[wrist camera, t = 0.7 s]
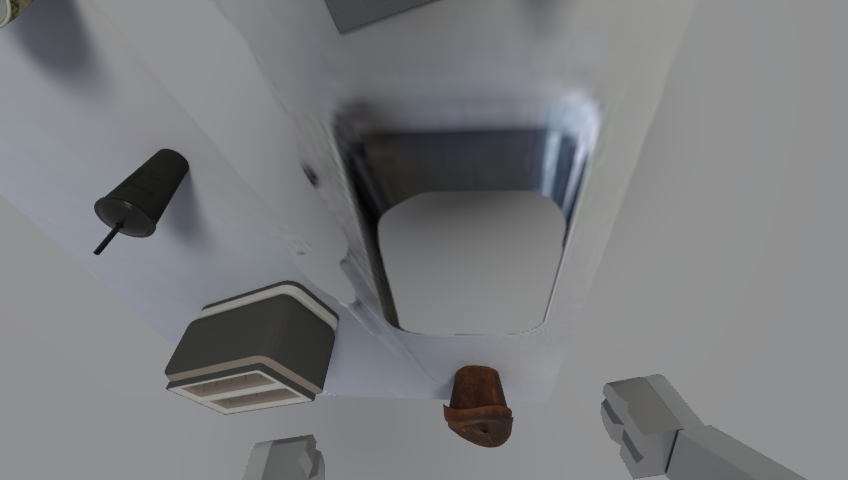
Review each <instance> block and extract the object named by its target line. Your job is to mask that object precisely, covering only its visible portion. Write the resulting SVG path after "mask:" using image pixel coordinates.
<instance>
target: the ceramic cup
mask: <svg viewBox="0 0 848 480" xmlns="http://www.w3.org/2000/svg"><path fill="white" fill-rule="evenodd" d="M32 1H33V0H0V28H2V27H4V26H5V25H6V24H8V23H9V22H11V21H12V20H13V19H15V18H16V17H17V16H18V15H19V14H20V13H22V12H23V11H24V10H25V9H26V8H27V7H28V6H29V5H30V3H31V2H32Z"/></svg>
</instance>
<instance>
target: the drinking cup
mask: <svg viewBox="0 0 848 480" xmlns="http://www.w3.org/2000/svg"><path fill="white" fill-rule="evenodd" d="M188 168H189V165H188V162H187V161H186V159H185V158H184V157H183V156H182V155H181V154H179V153H177V152H176V151H173V150H170V149H162V150H160V151H158V152H157V153H156V154H155V155H154V156H152V157H151V158H150V159H149V160H148V161H147V162H145V163H144V164H143V165H142V166H141V167H140V168H138V169H137V170H136V171H135V172H134V173H132V174H131V175H130V176H129V177H128V178H127V179H125V180H124V181H123V182H122V183H121V184H120V185H118V186H117V187H116V188H115V189H114V190H113V191H111V192H110V193H109V194H108V195H107V196H105V197H103V198H100V199H99V200H98V201H97V202H96V203H95V205H94V210H95V212H96V214H97V216H98V217H99V218H100V220H101V221H103V222H104V223H105V224H106V225H107V226H109V227H110V228H112V229H113V230H112V231H111V232H110V233H109V234H108V235H107V237H106V238H105V239H104V240H103V241H102V243H101V244H100V245H99V246H98V247H97V249H96V250H95V251H94V252H93V253H94V254H96V255H99V254H100V253H101V252H102V251H103V250H104V248H105V247H106V246H107V245H108V244H109V242H110V241H111V240H112V239H113V237H114V236H115V235H116V234H117V233H118V232H120V233H122V234H125V235H128V236H132V237H139V238H143V237H148V236H150V235H152V234H153V233H154V232H155V230H156V224H157V222H158V221H159V219H160V217H161V216H162V214H163V212H164V210H165V209H166V207H167V205H168V203H169V202H170V200H171V198H172V197H173V195H174V193H175V191H176V190H177V188H178V186H179V184H180V183H181V181H182V179H183V178H184V176H185V174H186V172H187V171H188Z"/></svg>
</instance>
